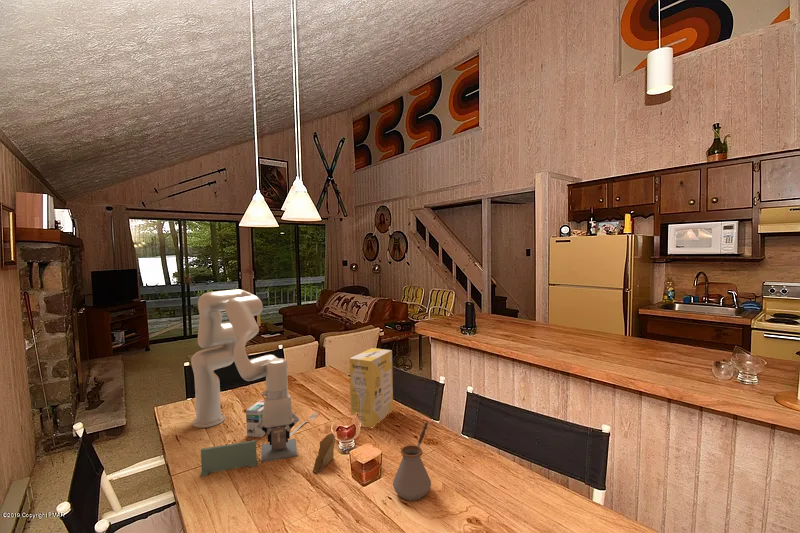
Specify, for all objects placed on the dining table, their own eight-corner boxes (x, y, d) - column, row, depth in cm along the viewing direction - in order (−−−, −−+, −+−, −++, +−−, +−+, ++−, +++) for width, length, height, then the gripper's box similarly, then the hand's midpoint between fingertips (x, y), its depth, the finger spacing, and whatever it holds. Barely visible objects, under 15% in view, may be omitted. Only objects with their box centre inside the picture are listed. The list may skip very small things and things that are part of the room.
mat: (262, 445, 142) (262, 444, 142) (295, 440, 145) (295, 438, 145) (261, 462, 130) (261, 460, 130) (297, 456, 134) (297, 454, 134)
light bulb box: (261, 438, 148) (260, 411, 147) (246, 436, 149) (245, 409, 149) (275, 425, 158) (274, 400, 158) (261, 424, 160) (260, 399, 159)
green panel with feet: (203, 470, 126) (202, 446, 126) (257, 460, 132) (256, 438, 131) (200, 476, 123) (199, 452, 122) (256, 466, 128) (255, 443, 127)
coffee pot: (424, 509, 105) (423, 456, 104) (386, 499, 109) (385, 449, 109) (444, 468, 125) (444, 423, 124) (412, 461, 129) (411, 418, 129)
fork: (279, 440, 146) (279, 436, 146) (313, 414, 169) (313, 410, 169) (286, 441, 145) (286, 437, 145) (320, 415, 168) (319, 411, 168)
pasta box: (373, 407, 175) (371, 348, 173) (393, 411, 170) (391, 350, 169) (351, 423, 158) (349, 358, 157) (372, 428, 154) (370, 361, 152)
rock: (320, 471, 120) (344, 454, 127) (308, 446, 123) (333, 431, 130) (308, 479, 127) (332, 462, 134) (297, 455, 130) (321, 440, 137)
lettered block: (271, 443, 139) (271, 421, 139) (286, 441, 141) (285, 419, 140) (271, 450, 134) (271, 428, 134) (286, 448, 136) (285, 426, 135)
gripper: (251, 400, 131) (253, 451, 131) (302, 393, 136) (303, 443, 137) (253, 392, 138) (254, 441, 139) (300, 386, 143) (302, 433, 144)
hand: (278, 441), depth 138 cm, fingers closed on lettered block, 5 cm apart
